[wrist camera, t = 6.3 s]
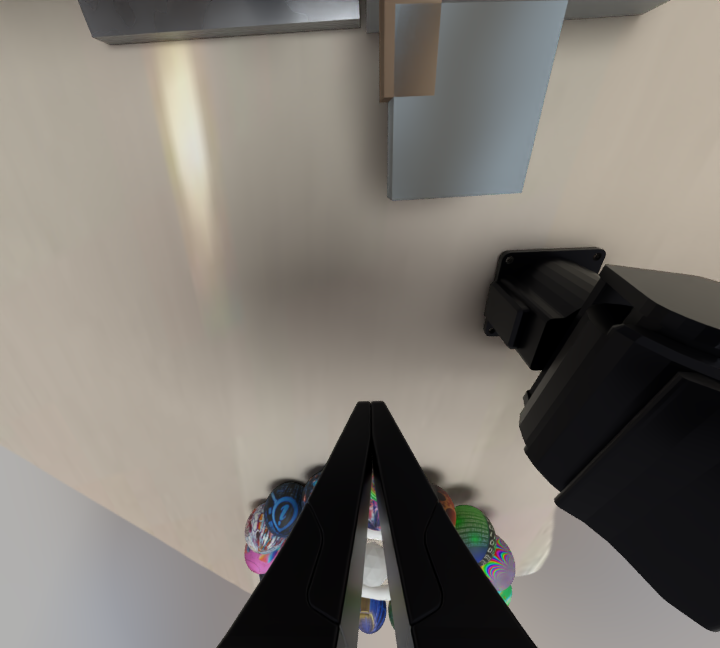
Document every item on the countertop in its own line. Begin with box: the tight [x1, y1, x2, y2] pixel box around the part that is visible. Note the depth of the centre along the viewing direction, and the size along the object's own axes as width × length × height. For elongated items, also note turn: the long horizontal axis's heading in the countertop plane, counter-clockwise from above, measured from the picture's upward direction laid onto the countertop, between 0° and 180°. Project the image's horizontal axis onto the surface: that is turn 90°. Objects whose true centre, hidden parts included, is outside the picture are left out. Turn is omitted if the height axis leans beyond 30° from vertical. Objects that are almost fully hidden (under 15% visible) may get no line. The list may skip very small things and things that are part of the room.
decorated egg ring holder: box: [245, 471, 515, 634], centre depth 38 cm, size 35×35×9 cm
